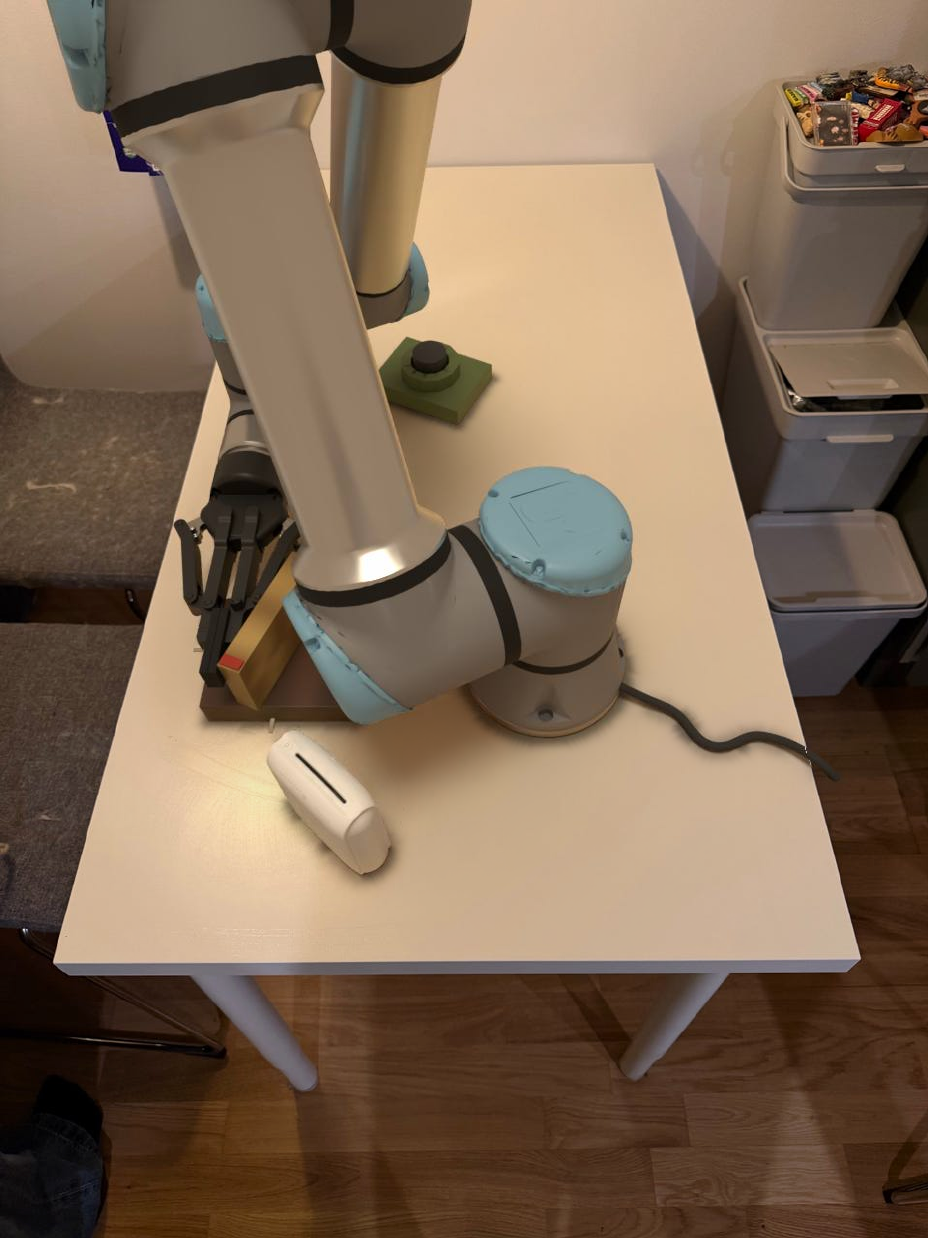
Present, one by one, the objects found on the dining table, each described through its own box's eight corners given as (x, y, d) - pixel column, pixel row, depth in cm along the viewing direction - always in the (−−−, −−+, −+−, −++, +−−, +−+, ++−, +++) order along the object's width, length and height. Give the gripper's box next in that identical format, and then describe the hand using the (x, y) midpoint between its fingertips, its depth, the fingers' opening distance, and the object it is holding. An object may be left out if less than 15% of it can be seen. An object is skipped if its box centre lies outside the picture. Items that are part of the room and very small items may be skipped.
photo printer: (284, 804, 74) (250, 747, 64) (321, 771, 76) (293, 710, 66) (362, 885, 70) (339, 838, 60) (399, 848, 72) (383, 796, 62)
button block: (492, 378, 103) (492, 352, 100) (458, 425, 99) (456, 399, 96) (407, 350, 107) (404, 323, 103) (371, 394, 102) (367, 368, 99)
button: (452, 357, 100) (452, 345, 99) (436, 378, 98) (435, 366, 97) (423, 348, 101) (422, 336, 100) (407, 368, 99) (405, 356, 98)
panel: (383, 593, 86) (380, 575, 84) (370, 747, 77) (366, 732, 74) (218, 593, 87) (209, 575, 84) (186, 746, 78) (175, 732, 75)
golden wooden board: (306, 593, 83) (291, 549, 77) (326, 600, 82) (312, 556, 76) (237, 703, 77) (215, 663, 70) (258, 711, 76) (238, 672, 70)
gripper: (324, 497, 87) (295, 700, 75) (201, 497, 88) (152, 699, 75) (311, 446, 81) (277, 659, 68) (179, 446, 81) (120, 658, 69)
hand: (211, 680), depth 72 cm, fingers closed
